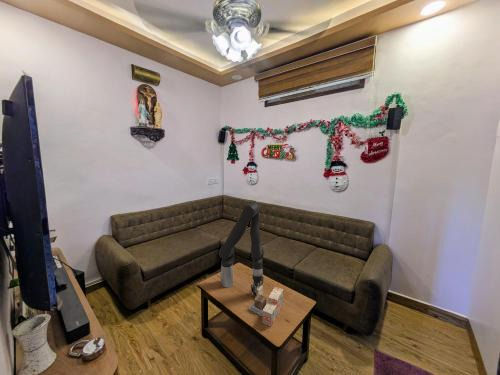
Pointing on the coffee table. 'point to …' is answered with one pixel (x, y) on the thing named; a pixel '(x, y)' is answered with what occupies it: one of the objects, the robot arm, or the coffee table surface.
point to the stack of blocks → (273, 306)
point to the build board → (256, 309)
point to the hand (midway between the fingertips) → (257, 292)
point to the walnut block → (260, 302)
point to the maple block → (259, 290)
